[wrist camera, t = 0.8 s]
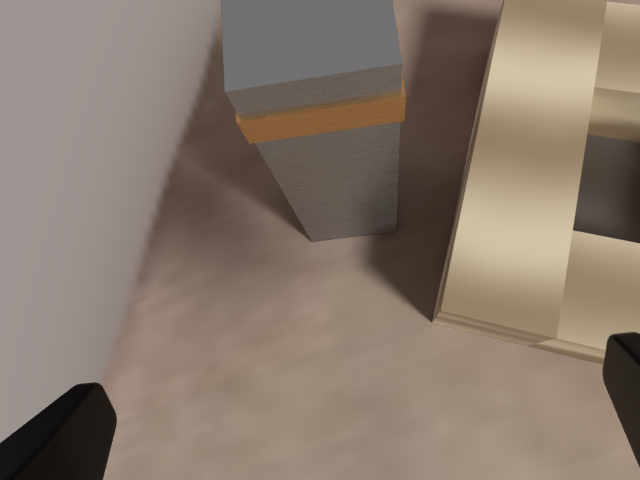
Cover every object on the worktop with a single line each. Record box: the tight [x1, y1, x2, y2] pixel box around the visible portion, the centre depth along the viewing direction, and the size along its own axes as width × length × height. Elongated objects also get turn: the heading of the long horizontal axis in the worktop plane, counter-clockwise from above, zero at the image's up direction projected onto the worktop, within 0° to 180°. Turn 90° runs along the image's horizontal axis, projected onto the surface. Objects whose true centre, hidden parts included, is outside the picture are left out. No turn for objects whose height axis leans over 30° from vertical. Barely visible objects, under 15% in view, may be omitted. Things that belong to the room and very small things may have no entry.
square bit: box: [221, 0, 406, 242], centre depth 18 cm, size 4×4×13 cm
